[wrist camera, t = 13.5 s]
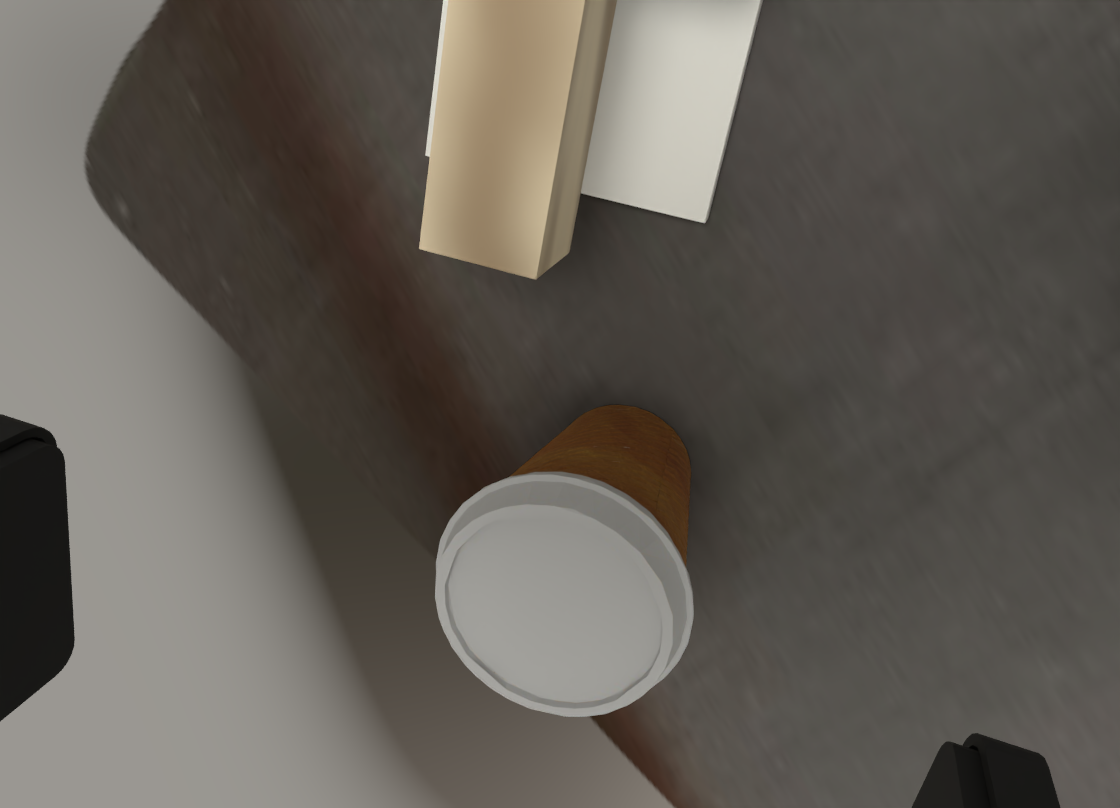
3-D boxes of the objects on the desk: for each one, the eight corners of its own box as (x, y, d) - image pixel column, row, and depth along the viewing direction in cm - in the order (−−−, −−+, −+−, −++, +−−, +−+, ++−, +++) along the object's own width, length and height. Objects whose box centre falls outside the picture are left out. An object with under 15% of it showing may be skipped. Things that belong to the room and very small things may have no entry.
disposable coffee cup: (761, 422, 39) (733, 567, 29) (680, 588, 44) (628, 769, 33) (561, 336, 41) (462, 445, 30) (500, 506, 45) (394, 655, 34)
